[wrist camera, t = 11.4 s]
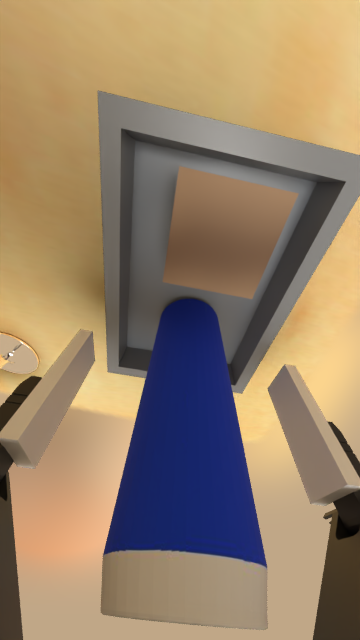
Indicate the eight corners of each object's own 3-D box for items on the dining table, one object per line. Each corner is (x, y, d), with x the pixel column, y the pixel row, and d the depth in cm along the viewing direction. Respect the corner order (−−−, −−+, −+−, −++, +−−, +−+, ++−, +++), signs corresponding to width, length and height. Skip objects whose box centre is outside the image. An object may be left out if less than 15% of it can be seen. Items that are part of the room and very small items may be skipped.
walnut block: (183, 173, 12) (179, 166, 8) (262, 191, 12) (298, 193, 8) (170, 255, 15) (162, 282, 11) (235, 268, 15) (251, 299, 11)
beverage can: (149, 319, 18) (55, 609, 6) (190, 283, 16) (185, 626, 3) (187, 350, 20) (180, 618, 8) (229, 321, 18) (315, 633, 5)
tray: (121, 115, 11) (97, 90, 8) (335, 166, 12) (380, 160, 9) (119, 346, 21) (107, 372, 18) (235, 366, 22) (241, 393, 19)
